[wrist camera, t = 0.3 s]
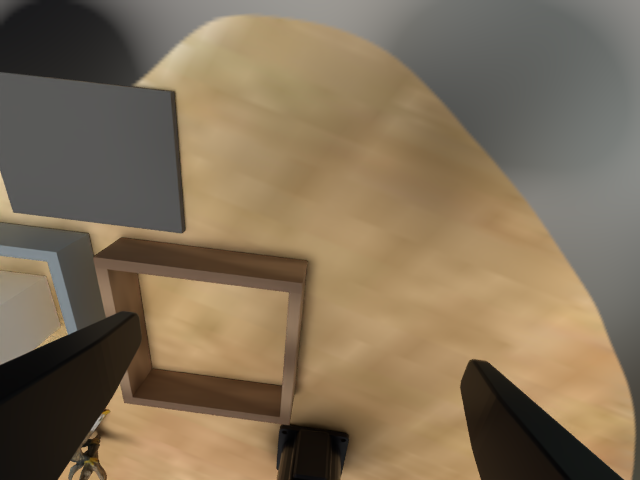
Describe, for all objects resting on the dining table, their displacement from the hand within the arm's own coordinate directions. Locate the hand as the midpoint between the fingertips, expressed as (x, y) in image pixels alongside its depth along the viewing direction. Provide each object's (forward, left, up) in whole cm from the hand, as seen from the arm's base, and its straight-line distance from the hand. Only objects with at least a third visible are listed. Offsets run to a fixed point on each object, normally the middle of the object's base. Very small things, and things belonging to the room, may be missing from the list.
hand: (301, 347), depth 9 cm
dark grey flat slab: (+1, +16, -14) cm, 21 cm away
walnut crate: (-12, +8, -14) cm, 20 cm away
